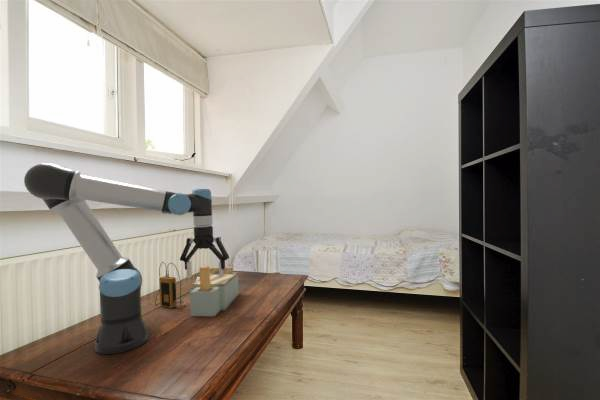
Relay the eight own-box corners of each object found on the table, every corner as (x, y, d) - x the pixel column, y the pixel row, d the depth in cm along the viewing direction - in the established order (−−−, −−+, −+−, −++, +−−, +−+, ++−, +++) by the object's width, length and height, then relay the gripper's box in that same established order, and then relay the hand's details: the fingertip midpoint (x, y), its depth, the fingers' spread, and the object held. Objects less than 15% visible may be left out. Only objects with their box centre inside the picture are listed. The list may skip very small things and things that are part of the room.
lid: (192, 286, 130) (192, 276, 130) (210, 274, 150) (210, 266, 150) (224, 286, 129) (224, 276, 129) (238, 274, 149) (237, 265, 149)
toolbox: (185, 316, 123) (185, 291, 123) (210, 294, 150) (210, 274, 150) (219, 316, 122) (218, 291, 122) (238, 294, 149) (238, 274, 149)
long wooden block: (199, 307, 124) (197, 268, 124) (203, 304, 128) (201, 266, 128) (208, 307, 124) (207, 268, 124) (212, 304, 128) (210, 266, 128)
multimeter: (194, 302, 140) (193, 259, 140) (177, 309, 131) (176, 263, 131) (171, 298, 146) (170, 257, 146) (153, 305, 137) (152, 261, 137)
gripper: (235, 224, 129) (237, 274, 129) (178, 225, 131) (180, 275, 131) (229, 226, 121) (231, 279, 121) (169, 227, 123) (172, 279, 124)
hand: (205, 277), depth 126 cm, fingers open, 13 cm apart
